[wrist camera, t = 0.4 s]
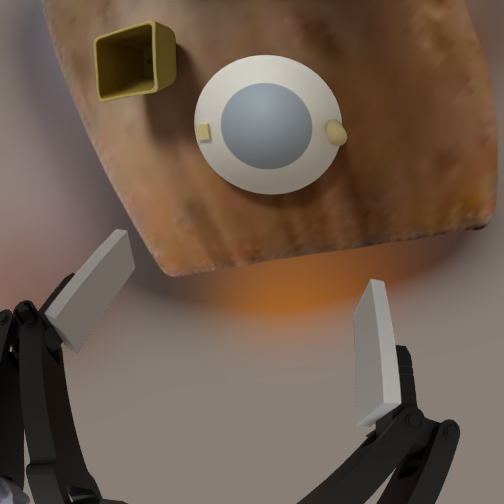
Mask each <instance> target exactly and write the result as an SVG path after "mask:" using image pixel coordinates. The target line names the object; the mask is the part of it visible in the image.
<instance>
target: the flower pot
mask: <svg viewBox="0 0 504 504" xmlns="http://www.w3.org/2000/svg"><path fill="white" fill-rule="evenodd" d="M94 55H95V67H96V84H97V95H98V100H99V102H106V101H110V100H115V99H119V98H125V97H131V96H136V95H143V94H150V93H155V92H157V91H159V90H162V89H164V88H166V87H168V86H170V85H171V84H173V83H174V81H175V80H176V77H177V65H176V39H175V34H174V32H173V31H172V30H171V29H170V28H169V27H167V26H164V25H162V24H160V23H158V22H155V21H153V20H152V21H147V22H143V23H140V24H137V25H133V26H130V27H127V28H124V29H120V30H117V31H114V32H111V33H108V34H105V35H103V36H100V37H98V38H96V39H95V40H94ZM148 60H151V62H150V63H148Z"/></svg>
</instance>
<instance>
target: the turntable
mask: <svg viewBox="0 0 504 504" xmlns="http://www.w3.org/2000/svg"><path fill="white" fill-rule="evenodd" d="M194 126H195V134H196V139H197V142H198V145H199V148H200V150H201V152H202V154H203V156H204V158H205V159H206V161H207V162H208V163H209V165H210V166H211V167H212V168H213V169H214V171H216V172H217V173H218V174H219V175H220V176H221V177H222V178H224V179H225V180H226V181H228V182H230V183H231V184H233V185H235V186H237V187H239V188H241V189H244V190H247V191H250V192H254V193H259V194H270V195H271V194H283V193H289V192H292V191H296V190H299V189H301V188H303V187H305V186H307V185H309V184H311V183H312V182H314V181H315V180H316V179H318V178H319V177H320V176H321V175H322V174H323V173H324V172H325V171H326V170H327V169H328V167H329V166H330V165H331V163H332V162H333V160H334V158H335V156H336V154H337V152H338V149H339V146H341V145H343V144H344V143H345V142H346V140H347V133H346V131H345V130H344V128H343V126H342V118H341V113H340V109H339V106H338V103H337V101H336V98H335V97H334V95H333V93H332V91H331V90H330V88H329V87H328V86H327V84H326V83H325V82H324V81H323V80H322V79H321V78H320V77H319V76H318V75H317V74H316V73H315V72H314V71H312V70H311V69H310V68H308V67H306V66H305V65H303V64H301V63H299V62H296V61H294V60H292V59H288V58H285V57H281V56H273V55H257V56H251V57H246V58H243V59H240V60H237V61H235V62H233V63H230V64H229V65H227V66H225V67H224V68H222V69H221V70H220V71H219V72H217V73H216V74H215V75H214V76H213V77H212V78H211V79H210V80H209V82H208V83H207V84H206V86H205V87H204V89H203V91H202V93H201V95H200V97H199V99H198V102H197V105H196V110H195V118H194Z"/></svg>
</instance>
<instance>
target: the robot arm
mask: <svg viewBox="0 0 504 504" xmlns="http://www.w3.org/2000/svg"><path fill="white" fill-rule="evenodd" d="M134 269H135V265H134V261H133V256H132V252H131V247H130V242H129V237H128V232H127V231H125V230H120V229H116V230H115V231H114V232H113V233H112V234H111V235H110V236H109V237H108V238H107V239H106V240H105V242H104V243H103V244H102V245H101V246H100V247H99V248H98V249H97V250H96V251H95V252H94V253H93V255H92V256H91V257H90V258H89V259H88V260H87V262H85V264H84V265H83V266H82V267H81V268H80V269H79V271H78V272H77V273H76V274H74V273H72V274H70V275H69V276H67V277H66V278H64V280H63V281H62V282H61V283H60V284H59V287H57V288H56V289H55V291H54V292H53V293H52V294H51V295H50V297H49V298H48V299H47V301H46V302H45V303H44V304H43V306H42V307H41V308H40V310H39V311H37V309H36V308H35V306H34V305H33V303H32V302H31V301H29V300H25V301H22V302H20V303H19V304H18V305H17V306H16V307H15V309H14V311H13V314H12V313H11V311H10V310H7V309H6V310H3V311H1V312H0V504H29V502H30V499H29V496H28V495H27V494H26V493H24V492H23V487H24V429H25V435H26V441H27V446H28V451H29V456H30V464H28V465H27V467H26V474H27V478H28V482H29V486H30V489H31V492H32V496H33V499H34V502H35V504H128V503H125V502H123V501H116V500H108V499H103V498H102V496H101V494H100V491H99V489H98V486H97V484H96V482H95V480H94V478H93V477H92V476H91V475H90V474H89V472H88V470H87V468H86V465H85V462H84V459H83V455H82V452H81V449H80V445H79V441H78V438H77V434H76V430H75V426H74V421H73V417H72V412H71V407H70V402H69V397H68V391H67V385H66V378H65V371H64V363H63V353H62V348H61V346H60V345H61V343H62V342H64V344H65V345H66V347H67V348H68V349H70V350H73V351H74V352H76V353H79V351H80V349H81V348H82V346H83V344H84V343H85V341H86V340H87V338H88V337H89V335H90V333H91V332H92V330H93V329H94V327H95V326H96V324H97V322H98V321H99V320H100V318H101V316H102V315H103V313H104V312H105V310H106V309H107V307H108V306H109V305H110V303H111V302H112V300H113V299H114V297H115V296H116V294H117V293H118V291H119V290H120V289H121V287H122V286H123V284H124V283H125V282H126V280H127V279H128V277H129V276H130V275H131V273H132V272H133V270H134ZM14 316H15V317H14ZM353 322H354V346H355V418H354V426H371V425H373V424H374V423H375V422H376V429H375V430H374V431H372V432H371V433H369V434H368V435H367V436H366V437H368V438H367V439H366V440H365V441H364V442H363V443H362V444H361V445H360V447H359V448H358V449H357V450H356V451H355V452H354V453H353V454H352V455H351V456H350V457H349V458H348V459H347V460H346V461H345V462H344V463H343V464H342V465H341V466H340V467H339V468H338V469H337V470H335V471H334V473H332V474H331V475H330V476H329V477H328V478H327V479H326V480H325V481H323V482H322V483H321V484H320V485H319V486H318V487H316V488H315V489H314V490H313V491H312V492H311V493H309V494H308V495H307V496H306V497H304V498H303V499H302V500H301V501H299V502H298V503H297V504H364V503H365V502H366V501H367V500H368V499H369V498H370V497H371V496H372V495H373V494H374V492H375V491H376V490H377V489H378V488H379V487H380V486H381V485H382V483H383V482H384V481H385V480H386V479H387V478H388V476H389V475H390V474H391V473H392V472H393V470H394V469H395V468H396V469H395V471H394V473H393V475H392V477H391V479H390V481H389V483H388V485H387V486H386V488H385V490H384V492H383V493H382V495H381V497H380V499H379V501H378V502H377V504H435V502H436V500H437V498H438V496H439V494H440V491H441V489H442V486H443V484H444V482H445V479H446V476H447V474H448V471H449V469H450V466H451V462H452V460H453V457H454V454H455V451H456V448H457V444H458V441H459V437H460V429H459V426H458V424H457V423H456V422H455V421H454V420H450V419H449V420H445V421H443V422H442V423H439V422H436V421H433V420H430V419H427V418H425V417H424V414H423V413H422V411H421V410H420V409H418V407H417V402H416V392H415V383H414V376H413V368H412V360H411V355H410V353H409V351H408V350H407V348H406V346H399V345H395V340H394V333H393V327H392V321H391V315H390V310H389V304H388V299H387V294H386V289H385V285H384V281H380V280H375V279H370V281H369V283H368V285H367V287H366V289H365V291H364V293H363V295H362V297H361V299H360V301H359V303H358V305H357V307H356V309H355V311H354V313H353ZM10 346H11V347H12V352H10V351H9V350H10ZM68 494H69V495H70V496H71V498H72V500H73V502H71V500H70V497H69V495H68Z"/></svg>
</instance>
